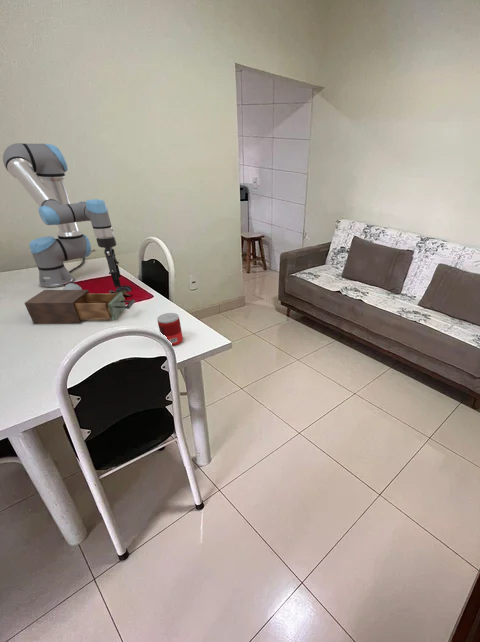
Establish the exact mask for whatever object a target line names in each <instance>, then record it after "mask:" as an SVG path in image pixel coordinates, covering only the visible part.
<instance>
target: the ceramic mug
mask: <svg viewBox="0 0 480 642" xmlns="http://www.w3.org/2000/svg"><path fill="white" fill-rule="evenodd" d="M62 290H83V288H82V287H81V286H80V285H78V284H76V283H74V282H72V283H69V284H67V285H64V286H63V289H62Z"/></svg>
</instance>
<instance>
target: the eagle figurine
mask: <svg viewBox="0 0 480 642" xmlns="http://www.w3.org/2000/svg"><path fill="white" fill-rule="evenodd" d="M132 289H133V287H131V286H129V285H121V287H116V289H115V291H114V290H112V289H111V290H109V291H108V294H116V295H117V294H118V293H119V292H122V294H123V296H129V297H130V296H131V294H128V293H130V292H132ZM124 301H126V299H125V297H124Z"/></svg>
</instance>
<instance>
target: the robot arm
mask: <svg viewBox="0 0 480 642" xmlns="http://www.w3.org/2000/svg"><path fill="white" fill-rule="evenodd" d="M2 162H3V166H4V168H5V169H6V171H7V172H8V174H10V175H11V176H12V178H14V179H16V180H17V181H18V182H19V183H20V184H21V185H22V187H23V188H24V190H26V192H27V193H28V194H29V196H30V197H31V198H32V199H33V201H34V202H35V204H36V205H37V206H38V214H39V217H40V219H41V221H42V222H43V224H44V225H46V226H57V228H58V232H57V233H56V235H57V238H55V237H54V236H53V235H52V236H50V235H47V236H41V237H37V238H34V239H32V240H31V241H30V242H29V243H28V247H29V250H30V253H31V255H32V257H33V260H34V262H35V265H36V266H37V269H38V282H39V285H40V286H41V287H43V288H59V287H65V285H67V284H69V283H74V277H73V275H72V274H71V273H72V272H73V271H75V270H77V269H78V268H80V267H81V266H82V265H84V263H85V258H88V257H89V256H90V255H91V253H92V251H95V250H96V249H94V250H91V249H92V245H91V241H90V239H89V238H88V236H87V235H86V234H84V233H83V231H81V230H80V229H79V228H78V224H77V223H81V222H90V223H91V226H92V231H93V234H94V236H95V238H96V239H95V240H96V243H97V246H98V248H102V249H103V248H104V250H103V253H104V255H105V259H106V262H107V265H108V269H109V272H108V275H110V276H111V279H112V283H113V286H114V288H118V287H121V286H122V285H121V280H120V278H122V275H121V272H120V268H119V264H120V262H119V261H118V260H117V258H116V253H115V249H114V247H116V246H117V241H116V240H117V239H116V238H115V233H114V232H115V229H114V228H113V226H112V222H111V218H110V215H109V212H108V211H109V210H108V207H107V205H106V201H104V199H98V198H97V199H95V198H93V199H87V200H86V201H79V202H76V203H75V202H74V203H71V202H70V197H69V196H68V195H69V194H68V191H67V188H66V186H65V182H64V179H65V178H66V174H65V173H66V172H68V170H69V169H68V163H67V161H66V159H65V156H64V155H63V153H62V152H61V150H60V149H59V148H58V147H57V146H56V145H55V144H50V143H21V142H15V143H11V144H10V145H8V146H7V147H6V148H5V149H4V152H3V154H2ZM78 259H82V261H81V263H80V264H79V265H78V266H76V267H74V268H72V269H70V270H69V271H68V269H67V268H66V265H65V264H64V262H67V261H73V260H74V261H75V260H78Z"/></svg>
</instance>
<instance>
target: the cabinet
mask: <svg viewBox="0 0 480 642" xmlns="http://www.w3.org/2000/svg"><path fill="white" fill-rule="evenodd" d="M85 294H91V293H90V290H89V289H82V290H63V289H43V290H42V291H40V292H39V293H37V294H36V295H34V296H32V297H31V298H29V299H28V300H26V301H25V302H24V306H25V308H26V310H27V312H28V314H29V317H30V319H31V321H32V323H33V325H62V324H63V325H75V324H76V325H78V324H79V325H80V324H82V323H83V322H84V321H85V320H86V319H80V318H79V315H78V313H77V310H76V307H75V305H74V304H75V303H76V302H77V301H78V300H80V299H81V298H82V297H83V296H84V295H85Z"/></svg>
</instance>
